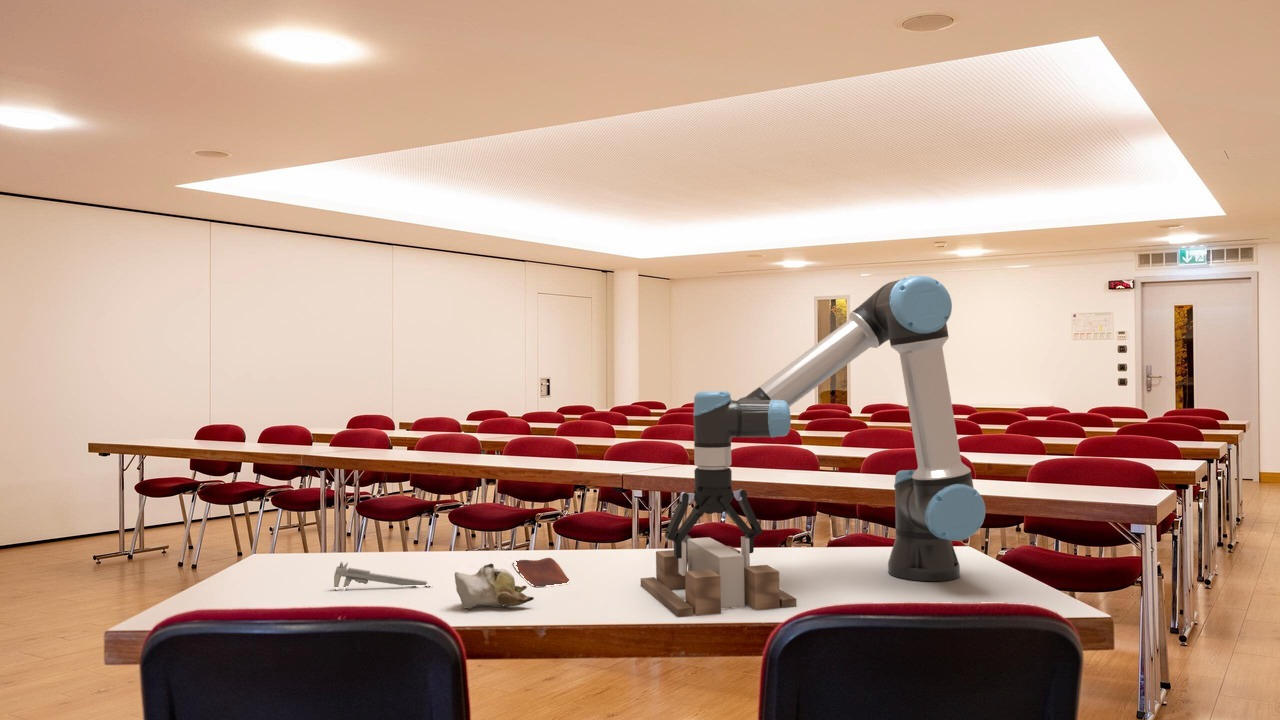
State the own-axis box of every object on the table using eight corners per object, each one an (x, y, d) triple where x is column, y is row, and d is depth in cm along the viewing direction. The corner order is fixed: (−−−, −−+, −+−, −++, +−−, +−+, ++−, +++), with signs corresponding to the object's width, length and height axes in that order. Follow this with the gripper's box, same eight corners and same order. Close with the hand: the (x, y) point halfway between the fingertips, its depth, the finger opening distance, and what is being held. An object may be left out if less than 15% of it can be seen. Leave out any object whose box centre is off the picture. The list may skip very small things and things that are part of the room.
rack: (745, 576, 203) (745, 545, 203) (796, 606, 178) (795, 569, 178) (640, 585, 197) (640, 552, 197) (677, 616, 172) (677, 579, 172)
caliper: (334, 592, 195) (333, 562, 196) (335, 591, 197) (334, 561, 197) (432, 588, 198) (431, 559, 198) (432, 587, 199) (432, 558, 199)
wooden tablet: (510, 565, 221) (510, 558, 221) (551, 562, 224) (551, 555, 224) (528, 591, 195) (527, 583, 195) (574, 587, 198) (574, 579, 198)
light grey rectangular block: (710, 584, 198) (709, 537, 198) (744, 607, 178) (743, 555, 178) (688, 585, 196) (687, 538, 196) (720, 609, 177) (719, 557, 177)
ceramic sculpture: (453, 558, 185) (527, 557, 189) (451, 601, 185) (525, 600, 189) (457, 570, 175) (535, 569, 178) (454, 616, 174) (533, 614, 178)
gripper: (762, 462, 194) (764, 563, 194) (648, 467, 188) (650, 572, 188) (777, 466, 187) (778, 571, 187) (659, 471, 181) (660, 580, 180)
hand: (714, 572), depth 187 cm, fingers open, 13 cm apart
